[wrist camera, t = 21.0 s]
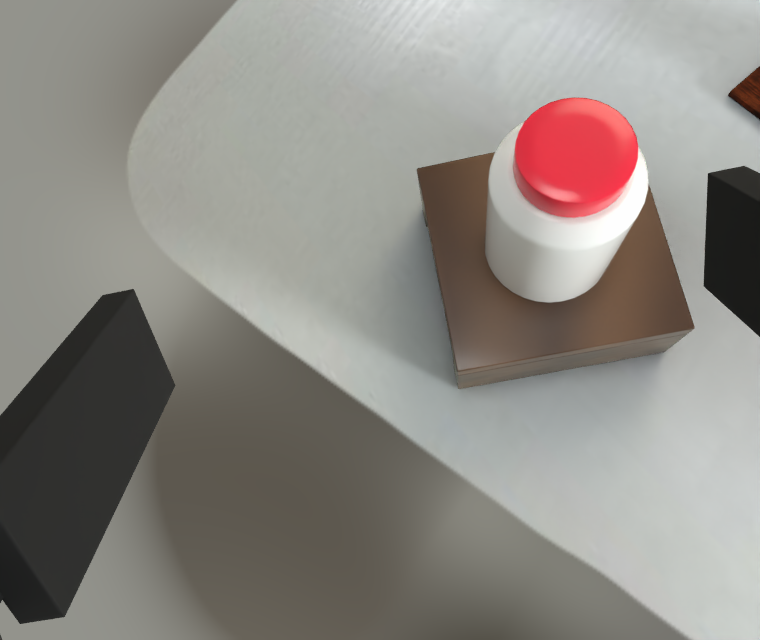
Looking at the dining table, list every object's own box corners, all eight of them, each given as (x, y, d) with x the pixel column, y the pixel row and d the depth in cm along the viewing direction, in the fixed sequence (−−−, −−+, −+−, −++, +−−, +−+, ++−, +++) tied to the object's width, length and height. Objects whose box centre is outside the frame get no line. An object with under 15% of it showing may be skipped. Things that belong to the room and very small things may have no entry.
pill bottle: (473, 200, 41) (475, 95, 30) (594, 176, 40) (638, 60, 30) (498, 313, 38) (509, 242, 28) (626, 289, 38) (687, 207, 27)
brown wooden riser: (458, 389, 44) (456, 372, 38) (422, 208, 48) (416, 168, 42) (664, 352, 42) (695, 328, 37) (609, 170, 47) (629, 123, 41)
